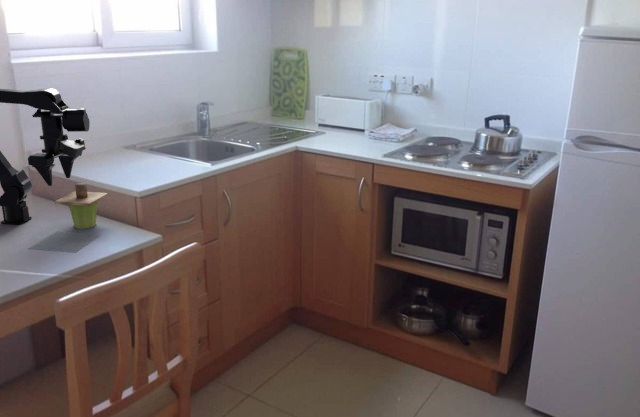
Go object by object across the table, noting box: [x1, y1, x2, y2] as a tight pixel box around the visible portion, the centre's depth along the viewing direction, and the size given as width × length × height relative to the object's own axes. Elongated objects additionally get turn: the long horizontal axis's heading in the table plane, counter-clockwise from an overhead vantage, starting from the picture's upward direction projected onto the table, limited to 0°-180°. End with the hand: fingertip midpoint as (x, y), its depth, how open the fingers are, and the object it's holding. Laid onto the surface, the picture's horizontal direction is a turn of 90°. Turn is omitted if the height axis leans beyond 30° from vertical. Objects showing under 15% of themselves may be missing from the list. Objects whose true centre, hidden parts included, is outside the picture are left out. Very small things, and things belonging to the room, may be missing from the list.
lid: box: [54, 182, 109, 206], centre depth 174 cm, size 11×11×5 cm
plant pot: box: [67, 201, 99, 230], centre depth 176 cm, size 9×9×9 cm
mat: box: [27, 231, 102, 254], centre depth 164 cm, size 14×14×1 cm
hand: (59, 181), depth 178 cm, fingers open, 9 cm apart
